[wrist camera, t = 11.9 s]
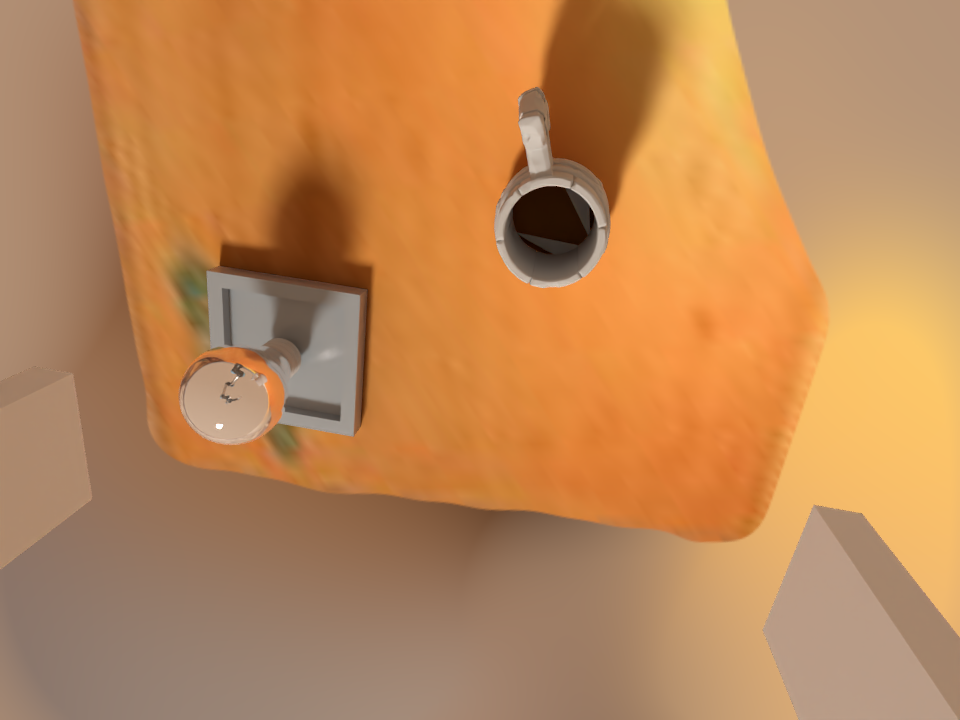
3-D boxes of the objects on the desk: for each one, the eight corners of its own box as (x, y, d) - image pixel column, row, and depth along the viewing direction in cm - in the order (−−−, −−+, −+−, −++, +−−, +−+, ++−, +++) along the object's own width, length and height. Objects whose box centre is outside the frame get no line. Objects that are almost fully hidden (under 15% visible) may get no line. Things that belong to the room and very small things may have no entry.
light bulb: (308, 405, 50) (234, 482, 38) (236, 362, 49) (140, 428, 38) (343, 341, 47) (274, 405, 36) (268, 295, 46) (174, 345, 35)
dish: (219, 265, 47) (206, 270, 45) (367, 289, 46) (360, 295, 44) (225, 402, 52) (214, 411, 50) (360, 426, 51) (353, 436, 49)
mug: (511, 274, 44) (494, 321, 33) (479, 108, 40) (447, 97, 29) (613, 255, 42) (631, 298, 31) (590, 81, 39) (601, 59, 28)
